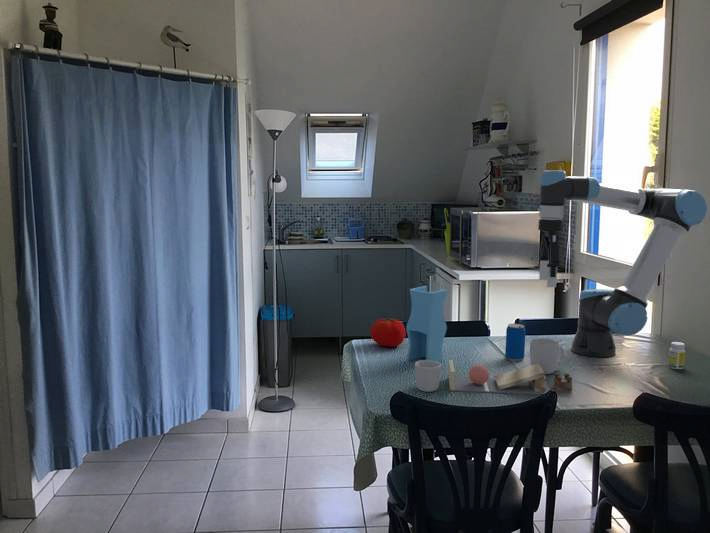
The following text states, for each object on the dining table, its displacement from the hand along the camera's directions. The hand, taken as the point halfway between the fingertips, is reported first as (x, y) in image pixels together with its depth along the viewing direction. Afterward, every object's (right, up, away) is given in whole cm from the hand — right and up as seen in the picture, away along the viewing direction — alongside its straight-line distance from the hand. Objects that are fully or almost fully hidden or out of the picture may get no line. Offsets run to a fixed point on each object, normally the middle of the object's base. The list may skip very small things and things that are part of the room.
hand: (547, 283), depth 210 cm
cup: (-42, -31, -16) cm, 55 cm away
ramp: (-13, -31, -15) cm, 37 cm away
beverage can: (-7, -27, +14) cm, 31 cm away
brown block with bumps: (0, -32, -16) cm, 36 cm away
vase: (-39, -27, +11) cm, 49 cm away
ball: (-26, -30, -14) cm, 43 cm away
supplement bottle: (+45, -29, +6) cm, 54 cm away
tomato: (-51, -24, +29) cm, 64 cm away
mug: (0, -29, +1) cm, 29 cm away
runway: (-19, -31, -15) cm, 39 cm away
